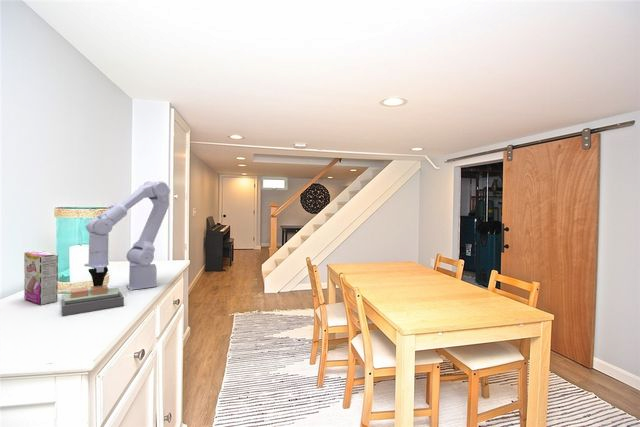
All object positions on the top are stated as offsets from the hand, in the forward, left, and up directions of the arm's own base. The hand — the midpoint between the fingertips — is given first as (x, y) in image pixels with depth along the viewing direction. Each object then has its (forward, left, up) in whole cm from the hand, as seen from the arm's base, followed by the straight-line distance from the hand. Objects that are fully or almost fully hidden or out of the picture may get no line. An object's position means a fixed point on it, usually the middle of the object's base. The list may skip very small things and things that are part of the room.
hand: (97, 288), depth 108 cm
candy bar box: (+15, -3, -3) cm, 16 cm away
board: (+2, +4, -3) cm, 6 cm away
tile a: (0, +4, -1) cm, 4 cm away
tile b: (+5, +4, -1) cm, 7 cm away
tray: (+2, +13, -3) cm, 14 cm away
